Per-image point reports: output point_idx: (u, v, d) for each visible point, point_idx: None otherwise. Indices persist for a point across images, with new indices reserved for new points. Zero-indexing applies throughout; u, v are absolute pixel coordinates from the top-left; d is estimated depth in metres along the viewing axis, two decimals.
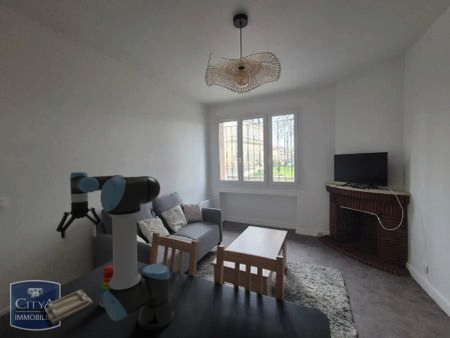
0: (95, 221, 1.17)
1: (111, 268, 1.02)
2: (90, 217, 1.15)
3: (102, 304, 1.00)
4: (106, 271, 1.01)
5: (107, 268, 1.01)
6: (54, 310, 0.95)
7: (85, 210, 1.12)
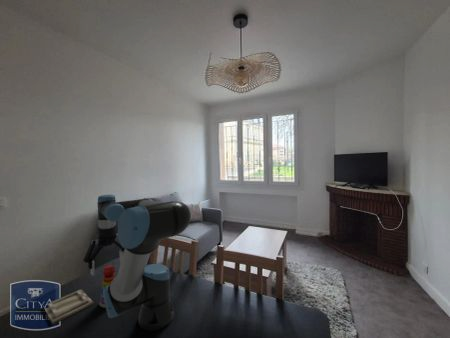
0: (122, 247, 1.07)
1: (111, 268, 1.02)
2: (117, 243, 1.05)
3: (102, 304, 1.00)
4: (106, 271, 1.01)
5: (107, 268, 1.01)
6: (54, 310, 0.95)
7: (113, 236, 1.03)
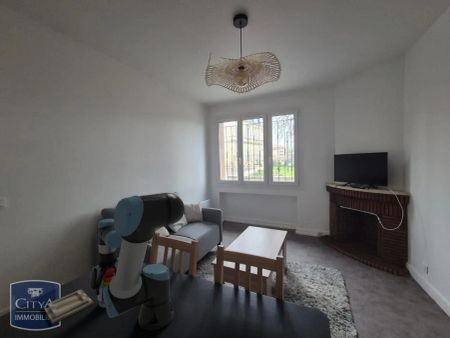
0: None
1: (111, 268, 1.02)
2: (116, 270, 1.05)
3: (102, 304, 1.00)
4: (106, 271, 1.01)
5: None
6: (54, 310, 0.95)
7: (113, 260, 1.04)
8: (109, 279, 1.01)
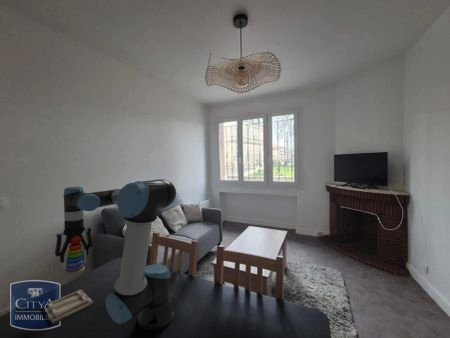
0: (86, 245, 1.03)
1: (77, 236, 1.00)
2: (83, 239, 1.02)
3: (67, 272, 0.98)
4: (72, 239, 0.98)
5: None
6: (54, 310, 0.95)
7: (80, 229, 1.01)
8: (75, 247, 0.99)
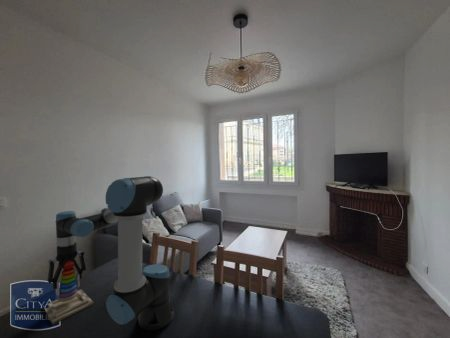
0: (79, 269, 1.03)
1: (70, 261, 0.99)
2: (76, 263, 1.02)
3: (60, 298, 0.97)
4: (64, 264, 0.98)
5: None
6: (54, 310, 0.95)
7: (73, 254, 1.01)
8: (68, 273, 0.98)
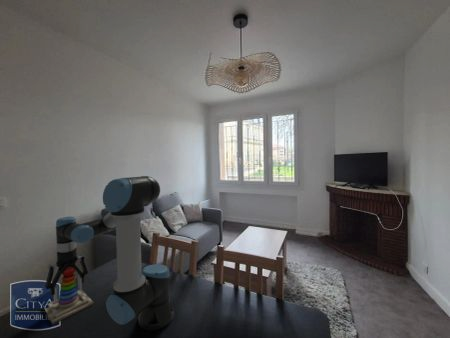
0: (81, 273, 1.04)
1: (70, 268, 1.00)
2: (77, 268, 1.02)
3: (60, 305, 0.97)
4: (65, 271, 0.98)
5: (66, 268, 0.99)
6: (54, 310, 0.95)
7: (73, 259, 1.01)
8: (68, 279, 0.99)
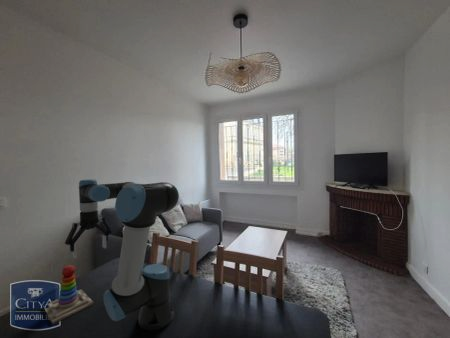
0: (105, 231, 1.09)
1: (70, 268, 1.00)
2: (100, 227, 1.07)
3: (60, 305, 0.97)
4: (65, 271, 0.98)
5: (66, 268, 0.99)
6: (54, 310, 0.95)
7: (95, 220, 1.05)
8: (68, 279, 0.99)
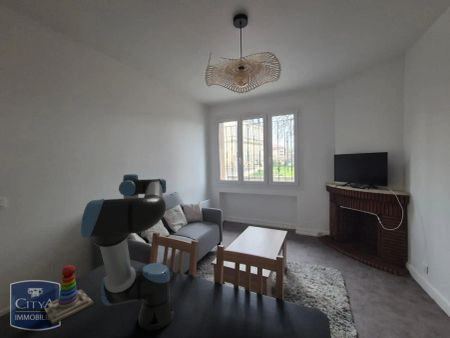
0: None
1: (70, 268, 1.00)
2: None
3: (60, 305, 0.97)
4: (64, 271, 0.98)
5: (66, 268, 0.99)
6: (54, 310, 0.95)
7: None
8: (68, 279, 0.99)
